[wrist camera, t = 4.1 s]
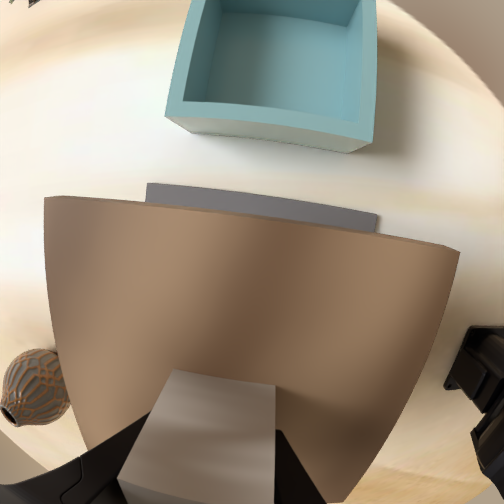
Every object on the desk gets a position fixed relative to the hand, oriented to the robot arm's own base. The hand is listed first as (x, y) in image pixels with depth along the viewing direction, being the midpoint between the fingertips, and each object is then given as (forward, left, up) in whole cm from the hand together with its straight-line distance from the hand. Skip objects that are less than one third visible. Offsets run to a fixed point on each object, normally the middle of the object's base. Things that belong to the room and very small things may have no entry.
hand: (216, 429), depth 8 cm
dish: (0, -15, -12) cm, 19 cm away
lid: (0, 0, -2) cm, 2 cm away
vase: (+18, +12, -12) cm, 25 cm away
